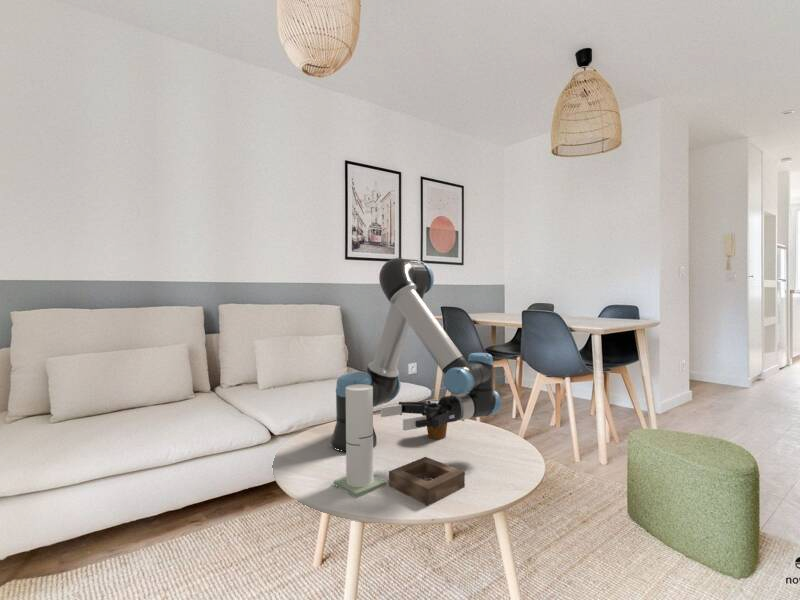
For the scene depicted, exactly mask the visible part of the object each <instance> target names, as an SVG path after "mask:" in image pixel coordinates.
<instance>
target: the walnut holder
mask: <svg viewBox="0 0 800 600" xmlns="http://www.w3.org/2000/svg"><path fill="white" fill-rule="evenodd" d="M465 474H466V473H465V471H463V470H461V469H459V468H455V467H453V466H451V465H448V464H445V463H443V462H440V461H437V460H436V459H432V458H430V457H427V456H424V457H421V458H419V459H417V460H414V461H411V462H408V463H406V464H404V465H401V466H398V467H396V468H393V469H391V470H389V471H388V481H389V482H388V487H390V488H392V489H393V490H395V491H398V492H400V493H402V494H404V495H405V496H408V497H410V498H412V499H414V500H417V501H418V502H419V503H421V504H424V505H426V506H430V505H432V504H434V503H436V502H438V501H440V500H442V499H444V498H446V497H448V496H450V495H451V494H454V493H455V492H457V491H459V490H461V489H463V488H465V485H466V483H465V481H466V480H465V479H466V477H465V476H466V475H465ZM423 478H429V479H431V480H428V481H427V480H424V479H423Z"/></svg>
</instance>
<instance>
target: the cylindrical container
mask: <svg viewBox="0 0 800 600" xmlns="http://www.w3.org/2000/svg"><path fill="white" fill-rule="evenodd" d="M373 427H374V407H373V386H371V385H366V384H356V385H349V386H347V387H346V452H345V455H346V456H345V464H346V467H345V468H346V470H345V471H346V473H345V476H346V482H347V484H348V485H350V486H352V487H365V486H368V485H370V484H372V483H373V475H374V447H373Z"/></svg>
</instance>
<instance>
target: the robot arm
mask: <svg viewBox="0 0 800 600" xmlns="http://www.w3.org/2000/svg"><path fill="white" fill-rule="evenodd" d="M378 278H379V279H378V280H379V285H380V287H381V290H382V292H383V294H384V295H385V298H386V299H387V300H388V302H389V303H390V306H389V308H388V312H387V315H386V320H385V322H384V326H383V329H382V332H381V335H380V339H379V342H378V346H377V348H376V351H375V352H376V353H375V356H374V359H373V360H372V361H371V362H369V363H368V366H367V368H366V371H353V372H347V373H344V374H342V375H341V376H339V377H338V378H337V380H336V387H335V398H336V399H335V400H336V401H335V403H336V422H335V423H336V424H335V425H334V429H333V432H332V436H331V438H330V439H331V440H330V441H331V442H330V445H331V444H332V446H333V447H334V448H336V449H339V450H342V451H346V387H347V386H349V385H356V384H366V385H371V386H373V408H375V407H378V406H380V405H384V404H386V403H389V402H390V401H392V400H394V399H395V398H396V397H397V396H398V395H399V393H400V390H401V381H400V371H399V369H398V365H399V362H400V359H401V355H402V351H403V349H404V345H405V342H406V339H407V336H408V332H409V329H410V328H411V329H412V330H413V332H414V333H415V334H416V336H417V337H418V339H419V341H421V343H422V344H423V346H424V347H425V348H426V350H427V351H428V353H429V355H430V356H431V357H432V359H433V360H434V361H435V363H436V365H437V366H438V367H439V369H440V370H441V372H442V373H443V375H444V376H443V384H444V386H445V389H446V391H448V392H449V393H451V394H452V395H446V396H442V397H441V398H440V399H438V400H439V402H438V404H437V403H431V401H427V400H425V401H399V402H398V404H396V405H388V406H381V407H380V418H386V417H392V416H398V415H399V416H402V415H403V414H417V415H422V416H416V417H411V418H404V419H402V430H403V431H411V430H416V429H422V428H425V427H426V428H427V427H431V426H432V428H433V429H436V428H438V427H440V426H442V425H444V424H446V423H447V424H448V423H453V422H457V421H461V422H465V420H468V419H470V420H471V419H475V418H482V417H488V416H492V415H494V414H497V413H499V411H500V409H501V408H502V399H500V398H501V396H500V394H499V393H498V392H497V391H496V390H494V362H493V361H494V359H493V356H492V354H490V353H487V352H471V353H469V354H468V357H467V358H468V359H467V360H466V359H465V356H463V354H462V353H461V352H460V350H459V348H458V347H457V346H456V345H455V343H454V342H453V341H452V339H451V337H449V335H448V333H447V332H446V330H445V329H444V328H443V326H442V325H441V324H440V323H439V321H438V319H437V318H436V317H435V315H434V314H433V312H432V311H431V309H429V307H428V306H427V304H426V303H425V302H424V300H423V299H424V296H425V294H426V293H428V292H430V291H431V289H432V287H433V286H434V281H435V280H434V279H435V277H434V273H433V270H432V268H431V267H430V266H429V264H428V263H426V262H424V261H421V260H417V259H411V258H409V259H408V258H400V257H394V258H392V259H389V260H388V261H386V262H385V263H384V264H383V265H382V267H381V268H380V272H379V275H378ZM425 410H426V413H425ZM426 416H427V419H426ZM377 437H378V436H377V434H376V431H375V428H374V426H373V448H375V447H376V445H377V443H378V441H377V439H378V438H377ZM332 446H331V447H332ZM333 447H332V448H333ZM334 448H333V449H334ZM342 451H341V452H342Z"/></svg>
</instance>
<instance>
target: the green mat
mask: <svg viewBox="0 0 800 600" xmlns="http://www.w3.org/2000/svg"><path fill="white" fill-rule="evenodd" d="M334 484H335V485H337V486H338V487H337V486H336V487H337V488H339V487H340V488H341V490H342V489H343V490H342V491H344V490H345V491H344V492H346V491H347V492H348V494H349V495H351V496H353V497H354V496H355V498H360V497H362V496H364V495H366V494H369V493H371V492H374V491H376V490H378V489H381V488H383V487H385V486H387V480H384V479H383V478H381V477H379V476H376V475H374V474H373V483H372V484H370V485H368V486H365V487H352V486H350V485H348V484H347V482H346V475H345V476H343V477H340V478H338V479H335V480H333V485H334ZM335 485H334V486H335ZM340 488H339V489H340ZM347 492H346V493H347ZM359 496H360V497H359Z"/></svg>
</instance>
